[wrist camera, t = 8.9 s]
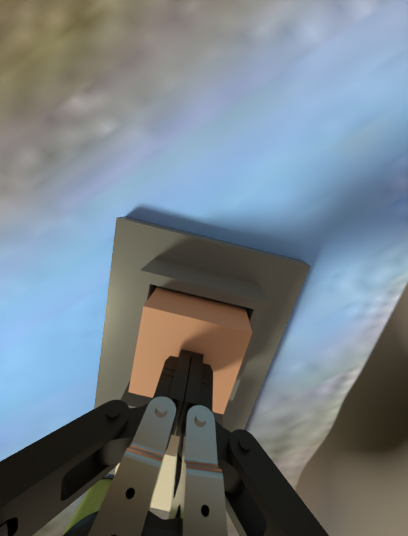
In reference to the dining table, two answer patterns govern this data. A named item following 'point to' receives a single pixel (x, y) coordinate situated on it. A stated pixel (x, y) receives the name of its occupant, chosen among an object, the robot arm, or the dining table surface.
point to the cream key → (165, 477)
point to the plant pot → (91, 501)
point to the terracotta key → (190, 340)
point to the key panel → (199, 285)
